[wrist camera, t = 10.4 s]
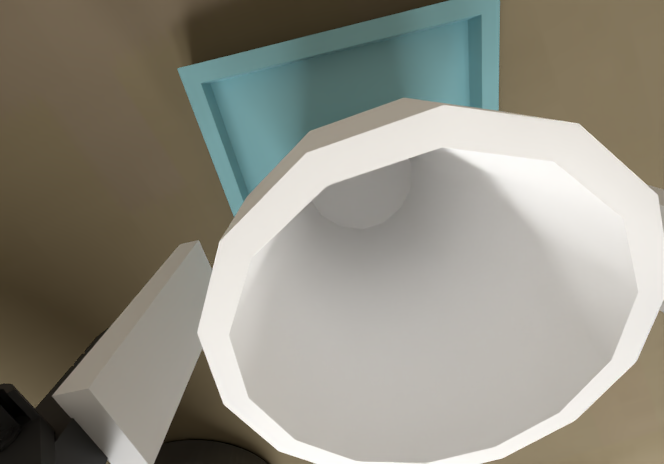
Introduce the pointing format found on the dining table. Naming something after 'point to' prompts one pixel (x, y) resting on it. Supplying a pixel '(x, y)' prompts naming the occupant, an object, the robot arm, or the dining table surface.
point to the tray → (339, 82)
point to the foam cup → (432, 286)
